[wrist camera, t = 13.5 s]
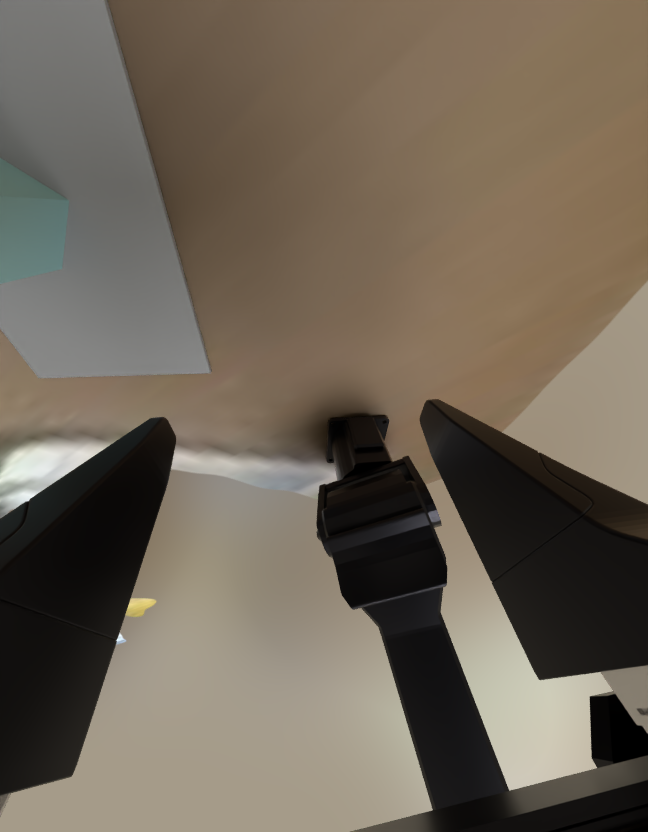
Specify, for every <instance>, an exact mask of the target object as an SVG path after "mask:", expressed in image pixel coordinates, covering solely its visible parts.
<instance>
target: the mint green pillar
mask: <svg viewBox="0 0 648 832" xmlns="http://www.w3.org/2000/svg"><path fill="white" fill-rule="evenodd" d="M68 208H69V200H68V199H66V198H64V197H63V196H61V195H60V194H58V193H56V192H55V191H53V190H51V189H50V188H48V187H47V186H45V185H43V184H42V183H40V182H39V181H37V180H35V179H34V178H32V177H30V176H29V175H27V174H26V173H24V172H22V171H21V170H19V169H17V168H16V167H14V166H13V165H11V164H9V163H8V162H6V161H5V160H3V159H1V158H0V284H2V283H6V282H10V281H14V280H18V279H23V278H27V277H31V276H35V275H39V274H43V273H48V272H52V271H56V270H60V269H62V265H63V255H64V246H65V236H66V227H67V217H68Z"/></svg>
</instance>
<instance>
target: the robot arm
mask: <svg viewBox="0 0 648 832" xmlns="http://www.w3.org/2000/svg"><path fill="white" fill-rule="evenodd" d="M384 420H385V421H384ZM332 423H334V424H332ZM388 424H389V419H388V417H387V416H372V417H352V418H333V419H330V420H329V421H328V432H327V452H326V460H327V462H328V463H334V464H335V469H336V475H337V480H338V481H335V482H332V483H329V484H323V485H320V486H319V494H318V509H317V537H318V539H319V540H320V541H322V544H323V546H324V549H325V551H326V552H327V554H328V555H329V557H333V560H334V564H335V567H336V572H337V575H338V581H339V585H340V590H341V593H342V596H343V597H344V599H345V600H346V601H347V603H348V604H349V606H350V607H351V608H352V609H358V608H362V609H363V611H365V613H366V614H367V615H368V616H369V617H370V618H371V619H372V620H373V621H374V623H375V624H376V625H377V626H378V627H379V630H380V633H381V636H382V640H383V643H384V646H385V650H386V653H387V656H388V659H389V663H390V666H391V670H392V673H393V677H394V680H395V683H396V687H397V690H398V694H399V697H400V700H401V704H402V707H403V711H404V714H405V717H406V721H407V724H408V727H409V731H410V734H411V737H412V741H413V744H414V747H415V751H416V754H417V758H418V761H419V765H420V768H421V771H422V775H423V778H424V781H425V785H426V788H427V791H428V795H429V798H430V802H431V805H432V809H433V811H429V812H425V813H421V814H418V815H413V816H410V817H406V818H402V819H398V820H394V821H390V822H387V823H382V824H379V825H375V826H371V827H367V828H363V829H359V830H355V831H351V832H648V504H646V503H643V502H641V501H639V500H637V499H635V498H633V497H630V496H628V495H626V494H624V493H622V492H620V491H617V490H615V489H613V488H611V487H609V486H607V485H605V484H603V483H600V482H598V481H596V480H594V479H592V478H589V477H588V476H586V475H584V474H581V473H579V472H577V471H575V470H573V469H571V468H569V467H567V466H565V465H563V464H561V463H559V462H557V461H555V460H553V459H551V458H549V457H548V456H546V455H544V454H542V453H538V452H537V451H536V450H534V449H532V448H530V447H529V446H527V445H525V444H522V443H521V442H519V441H517V440H515V439H513V438H511V437H509V436H508V435H506V434H504V433H502V432H500V431H498V430H496V429H494V428H492V427H490V426H488V425H487V424H485V423H483V422H481V421H479V420H477V419H475V418H473V417H471V416H469V415H467V414H466V413H464V412H462V411H460V410H458V409H456V408H454V407H452V406H450V405H448V404H446V403H445V402H443V401H441V400H439V399H432V400H427V401H426V402H425V404H424V407H423V410H422V413H421V415H420V424H421V427H422V430H423V433H424V436H425V439H426V441H427V444H428V447H429V450H430V453H431V456H432V458H433V460H434V463H435V465H436V467H437V469H438V471H439V473H440V475H441V477H442V479H443V481H444V483H445V485H446V488H447V490H448V492H449V494H450V496H451V498H452V500H453V502H454V504H455V507H456V509H457V511H458V513H459V515H460V517H461V519H462V521H463V523H464V525H465V527H466V529H467V532H468V534H469V536H470V538H471V540H472V542H473V544H474V546H475V548H476V550H477V553H478V554H479V557H480V559H481V561H482V563H483V565H484V567H485V569H486V571H487V574H488V575H489V577H490V580H491V581H492V584H493V586H494V589H495V591H496V593H497V595H498V597H499V599H500V601H501V603H502V605H503V607H504V609H505V612H506V614H507V616H508V618H509V620H510V622H511V624H512V626H513V628H514V630H515V632H516V635H517V637H518V639H519V641H520V643H521V645H522V647H523V649H524V651H525V653H526V655H527V657H528V660H529V662H530V664H531V666H532V668H533V670H534V672H535V674H536V675H537V677H538V679H539V680H545V679H552V678H558V677H567V676H573V675H580V674H589V673H595V672H601V674H602V675H603V676H604V678H605V680H606V681H607V682H608V684H609V685H610V687H611V688H612V690H613V691H612V692H608V693H604V694H599V695H595V696H590V716H591V717H590V720H591V750H592V759H593V761H594V763H595V764H596V766H597V768H596V769H593V770H589V771H585V772H581V773H577V774H573V775H569V776H565V777H561V778H558V779H554V780H550V781H546V782H542V783H538V784H534V785H530V786H527V787H523V788H519V789H515V790H511V791H509V789H508V787H507V784H506V781H505V779H504V776H503V774H502V771H501V768H500V766H499V763H498V760H497V758H496V755H495V753H494V750H493V747H492V745H491V742H490V740H489V737H488V735H487V732H486V729H485V727H484V724H483V721H482V719H481V716H480V714H479V711H478V708H477V706H476V703H475V701H474V698H473V695H472V693H471V690H470V688H469V685H468V682H467V680H466V677H465V675H464V672H463V669H462V667H461V664H460V662H459V659H458V656H457V654H456V651H455V649H454V646H453V643H452V641H451V638H450V636H449V633H448V630H447V628H446V625H445V623H444V620H443V618H442V615H441V612H440V611H441V602H442V593H443V587H445V586H446V585H447V565H446V557H445V554H444V551H443V549H442V546H441V544H440V542H439V539H438V537H437V534H436V532H435V529H434V528H435V527H438V526H441V520H440V517H439V514H438V512H437V509H436V506H435V504H434V502H433V499H432V497H431V495H430V493H429V491H428V489H427V487H426V485H425V483H424V482H423V480H422V478H421V477H420V475H419V473H418V471H417V470H416V468H415V466H414V465H413V463H412V461H411V460H410V458H409V456H406V457H403V459H400V460H397V461H394V462H393V461H392V459H391V456H390V454H389V452H388V449H387V447H386V445H385V442H384V440H385V436H386V432H387V428H388ZM175 444H176V436H175V433H174V431H173V429H172V427H171V425H170V424H169V422H168V420H167V419H166V418H164V417H157V418H150V419H149V420H147V421H146V422H144V423H143V424H141V425H140V426H138V427H137V428H135V429H134V430H132V431H131V432H129V433H128V434H126V435H125V436H123V437H122V438H120V439H119V440H117V441H116V442H114V443H113V444H111V445H110V446H108V447H107V448H105V449H104V450H102V451H101V452H99V453H98V454H96V455H95V456H93V457H92V458H90V459H89V460H87V461H86V462H84V463H83V464H81V465H80V466H78V467H77V468H75V469H74V470H73V471H71V472H70V473H68V474H67V475H65V476H64V477H62V478H61V479H59V480H58V481H56V482H55V483H53V484H52V485H50V486H49V487H47V488H46V489H44V490H43V491H41V492H40V493H38V494H37V495H35V496H34V497H32V498H31V499H30V500H29V501H26V502H25V503H23V504H22V505H20V506H19V507H17V508H16V509H14V510H13V511H11V512H10V513H8V514H7V515H5V516H4V517H2V518H1V519H0V816H1V814H2V812H3V810H4V808H5V806H6V803H7V801H8V799H9V797H10V795H11V793H13V792H17V791H21V790H24V789H28V788H32V787H35V786H39V785H43V784H47V783H50V782H54V781H58V780H62V779H65V778H69V777H71V776H72V775H73V773H74V770H75V768H76V765H77V762H78V759H79V756H80V753H81V750H82V747H83V744H84V741H85V738H86V735H87V732H88V729H89V726H90V722H91V719H92V716H93V713H94V710H95V707H96V704H97V701H98V698H99V695H100V692H101V688H102V686H103V682H104V679H105V676H106V673H107V670H108V667H109V664H110V661H111V658H112V655H113V651H114V649H115V646H116V642H117V641H116V640H117V638H118V635H119V632H120V629H121V626H122V623H123V620H124V617H125V614H126V611H127V608H128V605H129V602H130V598H131V595H132V592H133V589H134V586H135V583H136V580H137V577H138V574H139V571H140V568H141V564H142V561H143V558H144V555H145V552H146V549H147V546H148V543H149V540H150V537H151V534H152V531H153V527H154V524H155V521H156V518H157V515H158V512H159V509H160V506H161V502H162V500H163V496H164V494H165V491H166V487H167V484H168V480H169V476H170V471H171V465H172V460H173V455H174V450H175Z"/></svg>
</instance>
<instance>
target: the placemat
mask: <svg viewBox="0 0 648 832" xmlns="http://www.w3.org/2000/svg"><path fill="white" fill-rule="evenodd" d="M0 158H1V159H3V160H5V161H6V162H8V163H9V164H11V165H13V166H14V167H16V168H17V169H19V170H21V171H22V172H24V173H26V174H27V175H29V176H30V177H32V178H34V179H35V180H37V181H39V182H40V183H42V184H43V185H45V186H47V187H48V188H50V189H51V190H53V191H55V192H56V193H58V194H60V195H61V196H63V197H64V198H66V199H68V200H69V208H68V217H67V227H66V236H65V246H64V255H63V265H62V269H60V270H56V271H52V272H48V273H43V274H39V275H35V276H31V277H27V278H23V279H18V280H14V281H10V282H6V283H2V284H0V329H1V330H2V332H3V333H4V334H5V336H6V337H7V338H8V339H9V341H10V342H11V343H12V345H13V346H14V347H15V348H16V350H17V351H18V352H19V354H20V355H21V356H22V357H23V359H24V360H25V361H26V363H27V364H28V365H29V366H30V368H31V369H32V370H33V371H34V373H35V374H36V375H37V377H38V378H63V377H98V376H134V375H169V374H204V373H211V371H212V370H211V367H210V363H209V360H208V356H207V352H206V349H205V345H204V342H203V338H202V335H201V331H200V328H199V324H198V320H197V317H196V313H195V310H194V306H193V303H192V299H191V296H190V292H189V289H188V285H187V281H186V278H185V274H184V271H183V267H182V264H181V260H180V257H179V253H178V249H177V246H176V242H175V239H174V235H173V232H172V228H171V225H170V221H169V217H168V214H167V210H166V207H165V203H164V200H163V196H162V193H161V189H160V185H159V182H158V178H157V175H156V171H155V168H154V164H153V161H152V157H151V153H150V150H149V146H148V143H147V139H146V136H145V132H144V129H143V125H142V121H141V118H140V114H139V111H138V107H137V104H136V100H135V97H134V93H133V90H132V86H131V82H130V79H129V75H128V72H127V68H126V65H125V61H124V58H123V54H122V50H121V47H120V43H119V40H118V36H117V33H116V29H115V26H114V22H113V18H112V15H111V11H110V8H109V4H108V1H107V0H0Z"/></svg>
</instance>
